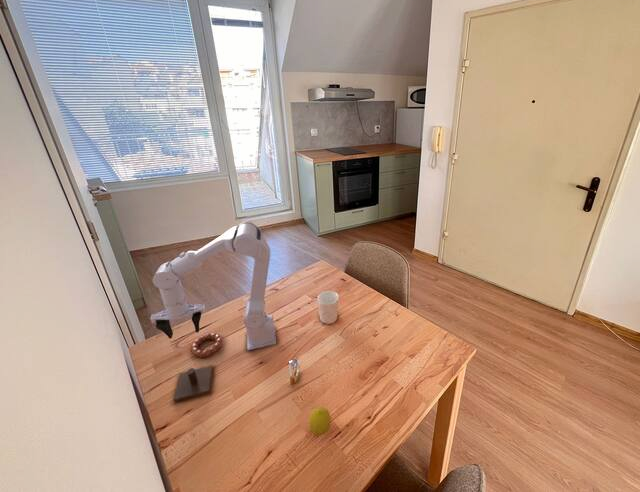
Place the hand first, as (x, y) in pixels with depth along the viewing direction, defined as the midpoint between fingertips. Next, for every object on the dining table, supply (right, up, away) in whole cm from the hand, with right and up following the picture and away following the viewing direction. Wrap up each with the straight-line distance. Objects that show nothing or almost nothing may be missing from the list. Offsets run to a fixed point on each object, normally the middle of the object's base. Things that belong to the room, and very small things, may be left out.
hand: (184, 333), depth 95 cm
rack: (+7, -13, -7) cm, 16 cm away
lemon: (+47, -19, -18) cm, 54 cm away
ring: (+37, -13, -5) cm, 40 cm away
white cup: (+45, -2, +20) cm, 49 cm away
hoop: (+5, -6, +5) cm, 9 cm away
